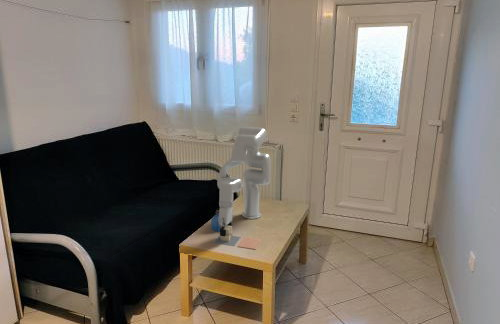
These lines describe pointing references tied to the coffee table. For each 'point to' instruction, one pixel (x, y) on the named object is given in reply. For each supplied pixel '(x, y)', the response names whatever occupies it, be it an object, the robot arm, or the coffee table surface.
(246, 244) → the pad
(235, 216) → the coffee table surface
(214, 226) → the perfume bottle
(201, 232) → the coffee table surface
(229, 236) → the maple block
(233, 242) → the gray tile
